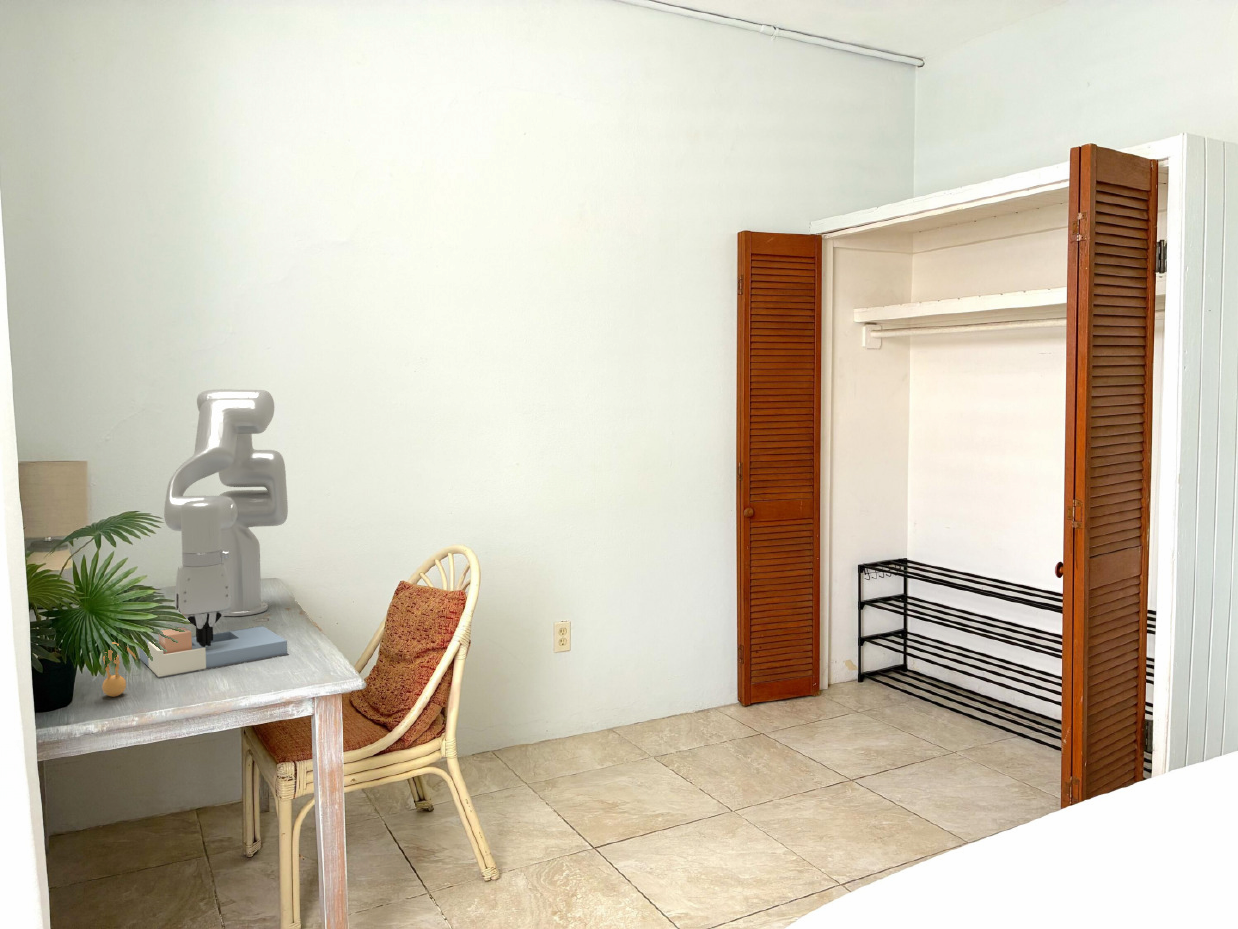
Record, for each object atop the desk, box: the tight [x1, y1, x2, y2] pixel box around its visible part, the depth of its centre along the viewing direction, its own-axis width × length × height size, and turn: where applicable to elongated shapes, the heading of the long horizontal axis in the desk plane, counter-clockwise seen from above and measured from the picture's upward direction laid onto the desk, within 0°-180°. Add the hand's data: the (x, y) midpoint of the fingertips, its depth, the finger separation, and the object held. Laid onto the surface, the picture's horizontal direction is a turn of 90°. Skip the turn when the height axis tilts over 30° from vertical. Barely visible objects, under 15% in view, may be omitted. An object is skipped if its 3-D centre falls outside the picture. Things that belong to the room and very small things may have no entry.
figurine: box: [101, 641, 137, 698], centre depth 173 cm, size 8×6×12 cm
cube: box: [158, 627, 193, 654], centre depth 190 cm, size 5×5×5 cm
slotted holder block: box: [138, 625, 290, 679], centre depth 199 cm, size 17×26×6 cm, turn 129°
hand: (204, 645), depth 195 cm, fingers closed
